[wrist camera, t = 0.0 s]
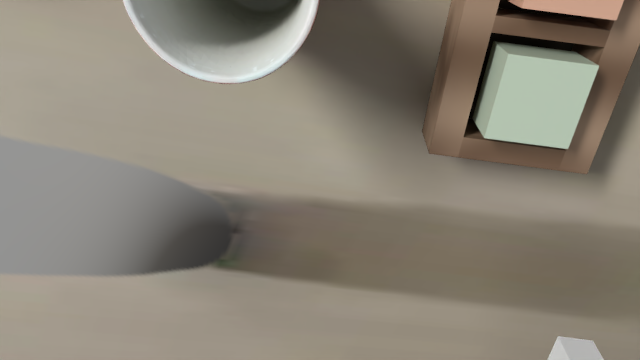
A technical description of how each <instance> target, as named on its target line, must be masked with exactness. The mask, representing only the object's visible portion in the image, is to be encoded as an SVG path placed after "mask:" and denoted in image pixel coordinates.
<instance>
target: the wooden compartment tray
mask: <svg viewBox="0 0 640 360" xmlns="http://www.w3.org/2000/svg"><path fill="white" fill-rule="evenodd" d="M499 2H500V0H451V5H450V9H449V14H448V18H447V23H446V27H445V31H444V36H443V40H442V45H441V49H440V54H439V58H438V63H437V67H436V72H435V76H434V80H433V85H432V89H431V94H430V98H429V103H428V107H427V112H426V116H425V120H424V125H423V129H422V132H423V136H424V139H425V142H426V145H427V148H428V151H429V154H437V155H445V156H452V157H460V158H467V159H475V160H483V161H490V162H498V163H505V164H513V165H521V166H528V167H536V168H543V169H551V170H559V171H566V172H574V173H582V174H587V173H588V171H589V168H590V166H591V163H592V161H593V158H594V156H595V153H596V151H597V149H598V146H599V144H600V141H601V139H602V136H603V134H604V131H605V129H606V126H607V124H608V121H609V119H610V116H611V114H612V111H613V109H614V107H615V104H616V102H617V99H618V97H619V94H620V92H621V89H622V87H623V84H624V82H625V79H626V77H627V74H628V72H629V69H630V67H631V65H632V62H633V60H634V57H635V55H636V52H637V50H638V47H639V45H640V0H624V2H623V4H622V7H621V10H620V12H619V15H618V18H617V20H609V19H601V18H593V17H586V16H583V19H579V18H572V17H564V16H556V15H549V14H541V13H534V12H526V11H518V10H511V9H503V8H498V6H499ZM491 32H492V33H499V34H507V35H515V36H522V37H530V38H537V39H545V40H553V41H560V42H568V43H574V45H573V48H572V51H573V52H577V53H578V54H580V55H582V56H583V57H585V58H587V59H589V60H590V61H592V62H594V63H595V64H597V65H599V68H598V71H597V73H596V76H595V79H594V81H593V84H592V87H591V89H590V92H589V95H588V97H587V100H586V103H585V105H584V108H583V111H582V113H581V116H580V119H579V121H578V124H577V127H576V129H575V132H574V135H573V137H572V140H571V143H570V145H569V148H568V149H563V148H556V147H548V146H541V145H533V144H525V143H518V142H510V141H502V140H495V139H487V138H484V137H483V135H482V134H481V132H480V130H479V129H478V127H477V125H476V124H475V122H474V120H473V119H470V118H469V114H470V110H471V107H472V103H473V99H474V95H475V92H476V88H477V84H478V80H479V77H480V73H481V69H482V65H483V62H484V58H485V54H486V51H487V47H488V43H489V39H490V36H491Z"/></svg>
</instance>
